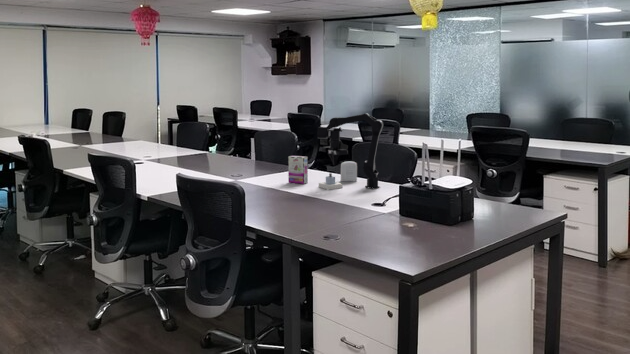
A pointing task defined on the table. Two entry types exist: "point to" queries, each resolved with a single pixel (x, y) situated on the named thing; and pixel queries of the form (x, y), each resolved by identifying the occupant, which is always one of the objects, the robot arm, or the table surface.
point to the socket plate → (331, 186)
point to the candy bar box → (298, 169)
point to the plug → (330, 179)
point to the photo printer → (349, 171)
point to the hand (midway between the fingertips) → (334, 165)
